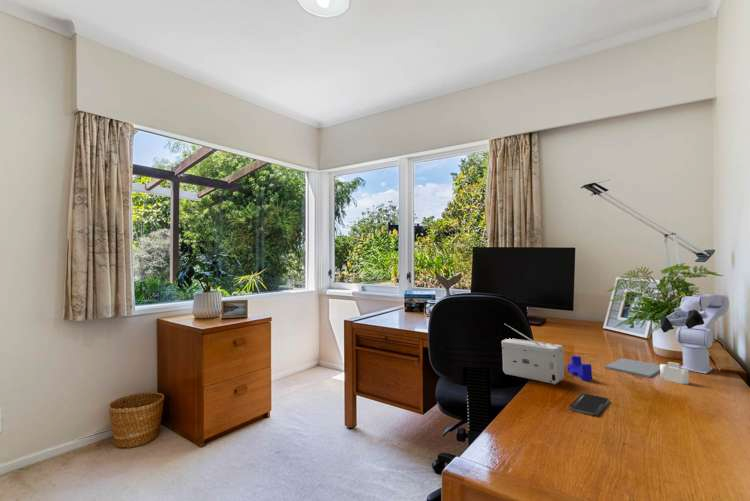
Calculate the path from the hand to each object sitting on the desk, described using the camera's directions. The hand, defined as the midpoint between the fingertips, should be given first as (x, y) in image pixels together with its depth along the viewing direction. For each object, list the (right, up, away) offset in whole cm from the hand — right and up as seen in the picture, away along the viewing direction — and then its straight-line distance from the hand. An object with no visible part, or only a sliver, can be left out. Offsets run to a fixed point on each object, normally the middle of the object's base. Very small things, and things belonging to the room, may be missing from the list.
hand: (675, 327), depth 127 cm
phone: (-41, -20, -18) cm, 49 cm away
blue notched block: (-29, -20, +9) cm, 37 cm away
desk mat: (-3, -19, +15) cm, 25 cm away
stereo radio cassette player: (-48, -21, +8) cm, 53 cm away
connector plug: (0, -19, 0) cm, 19 cm away
